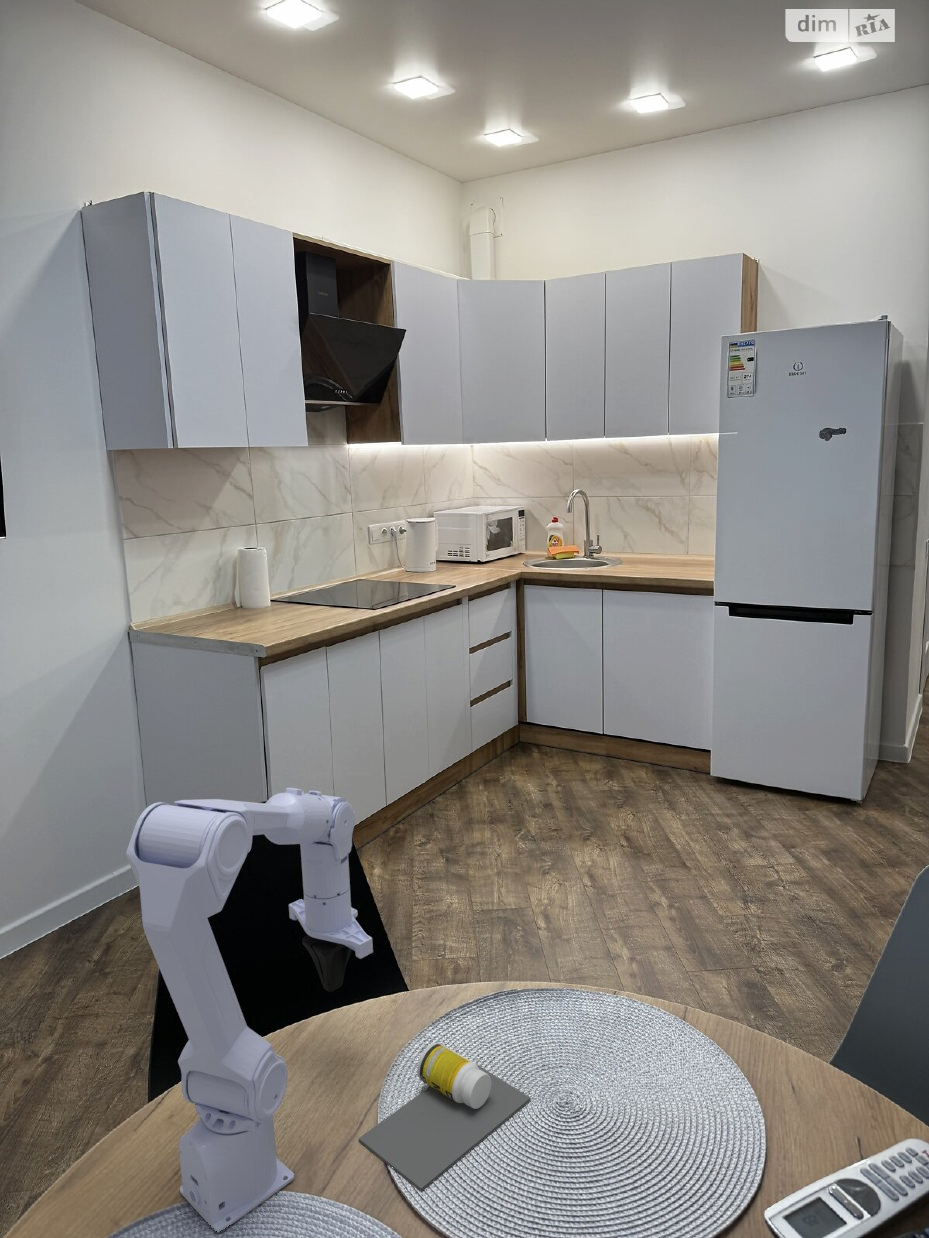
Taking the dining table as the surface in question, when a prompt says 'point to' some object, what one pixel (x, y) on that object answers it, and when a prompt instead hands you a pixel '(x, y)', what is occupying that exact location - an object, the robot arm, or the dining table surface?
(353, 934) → the robot arm
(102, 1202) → the dining table surface
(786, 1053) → the dining table surface
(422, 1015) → the dining table surface
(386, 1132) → the mat
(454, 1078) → the supplement bottle
